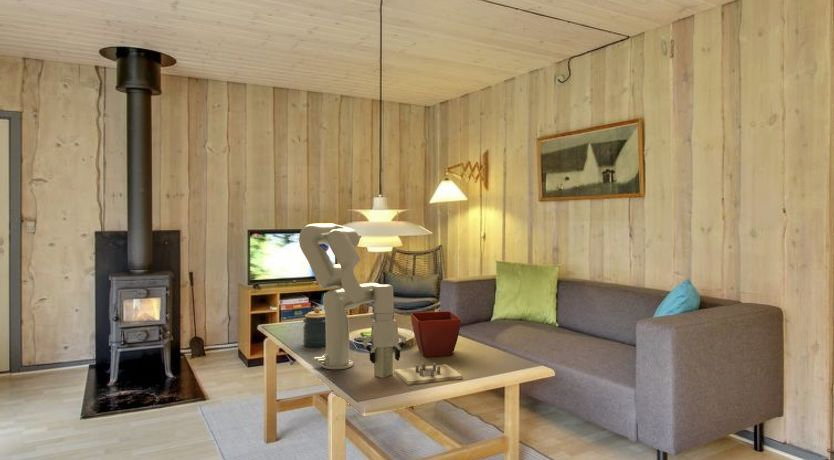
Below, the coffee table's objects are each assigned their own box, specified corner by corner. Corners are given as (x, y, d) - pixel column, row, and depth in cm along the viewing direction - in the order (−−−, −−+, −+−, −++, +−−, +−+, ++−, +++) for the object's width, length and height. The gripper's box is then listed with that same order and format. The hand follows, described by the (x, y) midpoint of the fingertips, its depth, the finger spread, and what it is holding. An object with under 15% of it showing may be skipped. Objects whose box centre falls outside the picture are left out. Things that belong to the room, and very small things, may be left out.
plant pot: (418, 360, 228) (418, 320, 227) (410, 348, 247) (410, 312, 246) (461, 357, 232) (461, 319, 231) (450, 347, 250) (450, 311, 250)
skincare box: (384, 372, 210) (384, 341, 209) (393, 374, 207) (393, 343, 207) (373, 376, 205) (373, 344, 205) (382, 378, 202) (382, 346, 202)
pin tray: (407, 384, 194) (407, 374, 194) (394, 372, 209) (394, 363, 209) (462, 378, 202) (462, 368, 202) (446, 367, 217) (446, 358, 217)
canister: (298, 344, 255) (298, 307, 255) (323, 340, 263) (322, 304, 263) (310, 349, 245) (310, 311, 244) (335, 345, 253) (335, 308, 252)
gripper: (364, 320, 199) (365, 366, 199) (408, 316, 205) (409, 361, 205) (359, 317, 206) (360, 361, 206) (402, 313, 212) (403, 356, 212)
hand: (385, 361), depth 205 cm, fingers open, 9 cm apart
